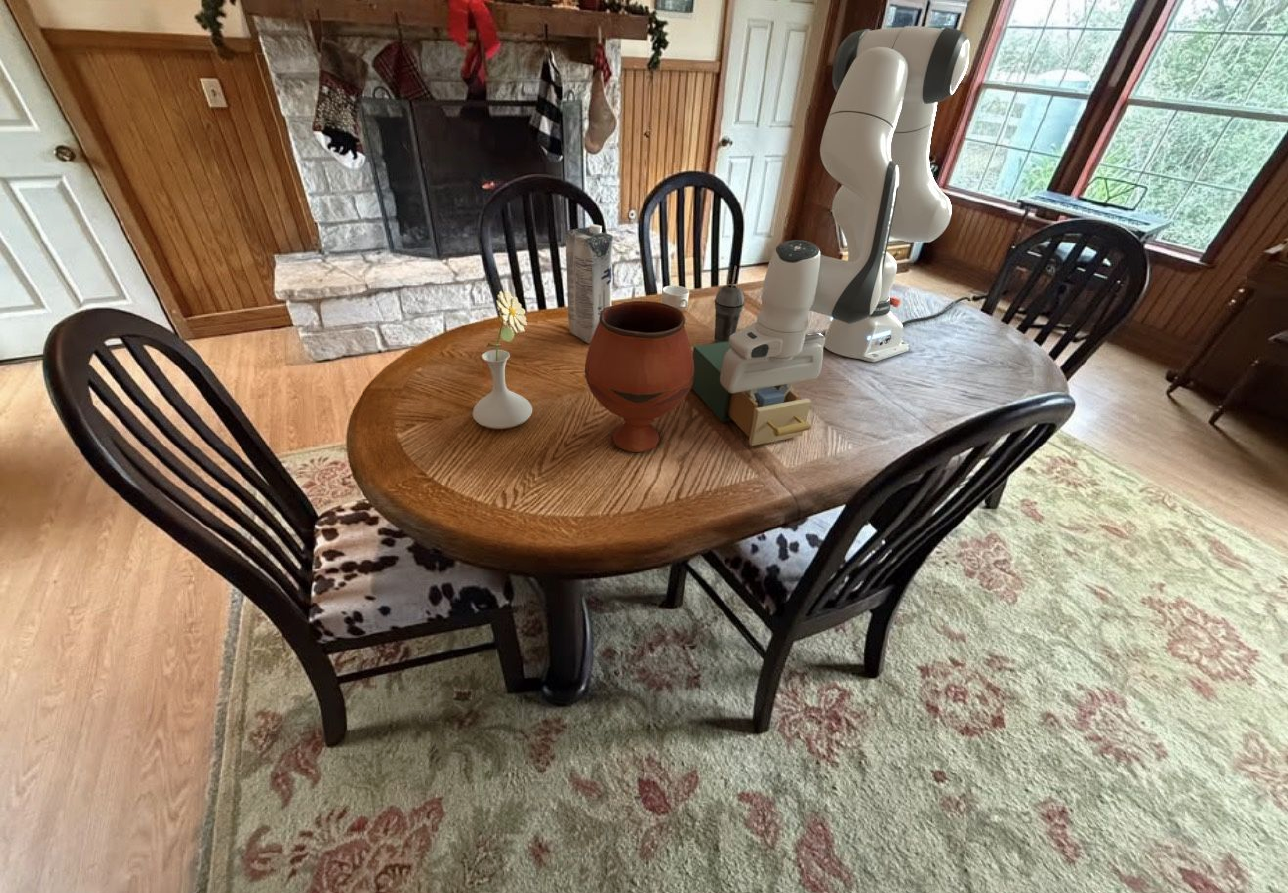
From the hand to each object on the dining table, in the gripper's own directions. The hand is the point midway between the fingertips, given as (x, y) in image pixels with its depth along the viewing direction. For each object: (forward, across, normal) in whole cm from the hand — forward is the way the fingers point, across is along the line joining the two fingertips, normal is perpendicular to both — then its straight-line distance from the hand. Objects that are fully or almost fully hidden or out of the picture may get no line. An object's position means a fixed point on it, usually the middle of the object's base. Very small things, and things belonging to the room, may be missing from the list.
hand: (765, 403), depth 106 cm
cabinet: (+6, 0, -12) cm, 14 cm away
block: (+2, 0, 0) cm, 2 cm away
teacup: (+6, -9, -61) cm, 62 cm away
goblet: (+6, +25, -4) cm, 26 cm away
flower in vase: (+6, +47, -19) cm, 51 cm away
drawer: (+5, 0, +1) cm, 5 cm away
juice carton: (+6, +20, -51) cm, 55 cm away
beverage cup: (+6, -11, -36) cm, 38 cm away
